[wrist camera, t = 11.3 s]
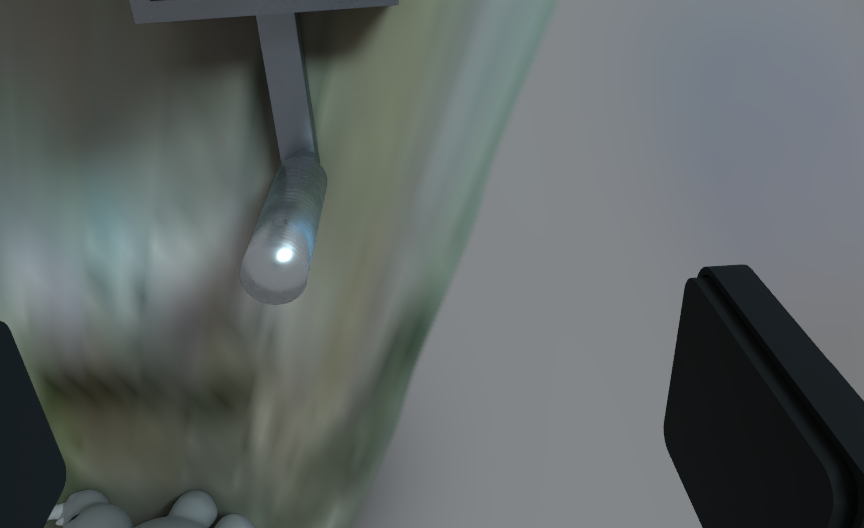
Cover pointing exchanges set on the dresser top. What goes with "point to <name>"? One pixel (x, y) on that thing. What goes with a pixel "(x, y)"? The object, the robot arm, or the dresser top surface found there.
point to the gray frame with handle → (292, 111)
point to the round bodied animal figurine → (108, 524)
